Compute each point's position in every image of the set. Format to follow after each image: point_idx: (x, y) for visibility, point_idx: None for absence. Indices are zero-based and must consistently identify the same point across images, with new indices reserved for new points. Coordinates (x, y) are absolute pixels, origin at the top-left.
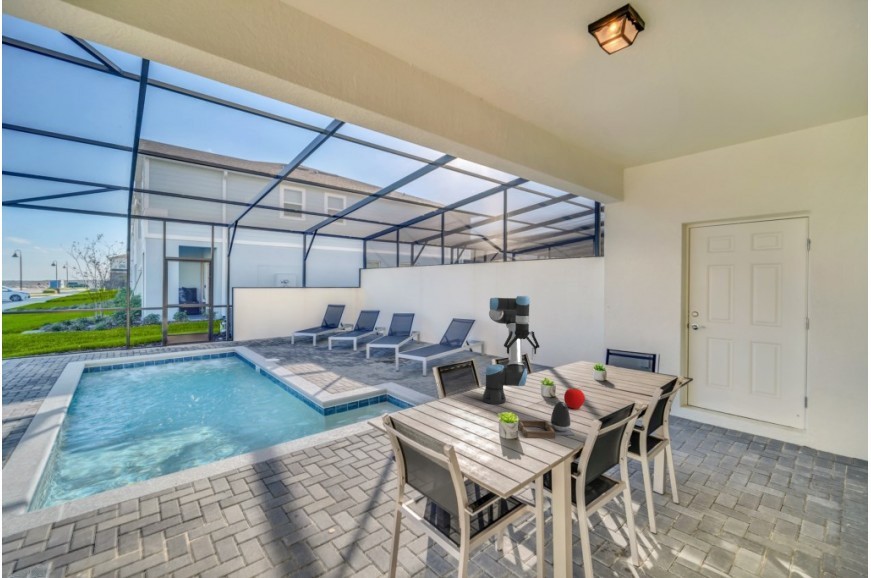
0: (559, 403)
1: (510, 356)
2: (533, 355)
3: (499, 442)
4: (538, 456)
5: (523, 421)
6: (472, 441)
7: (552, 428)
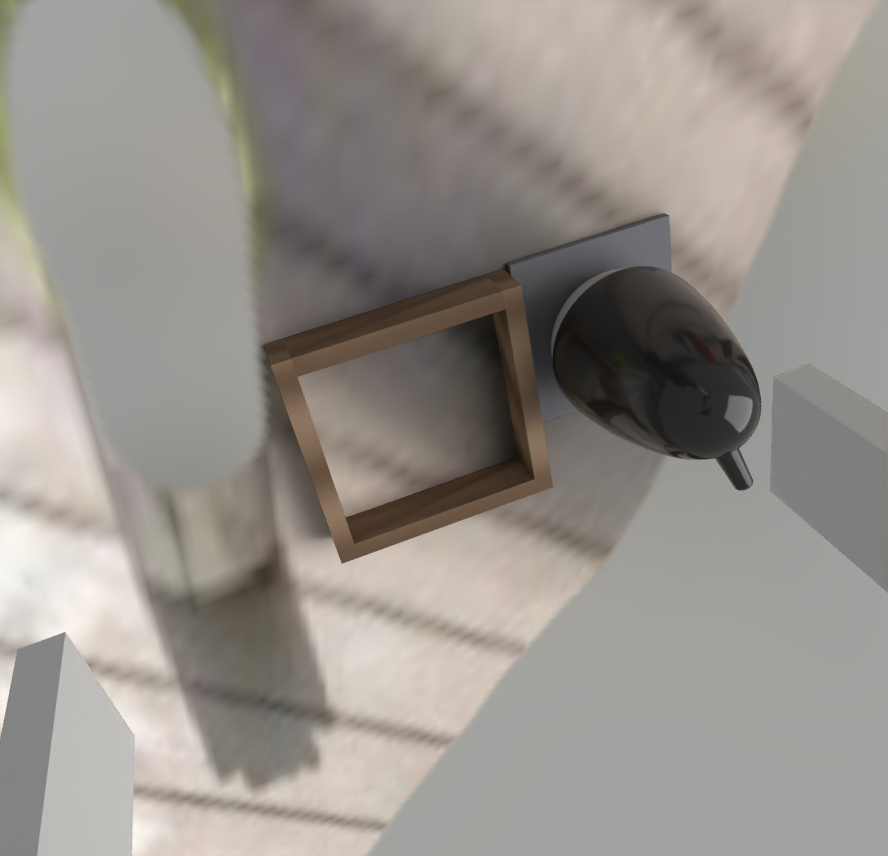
0: (707, 452)
1: (127, 835)
2: (881, 569)
3: (163, 665)
4: (412, 705)
5: (315, 369)
6: None
7: (544, 325)
